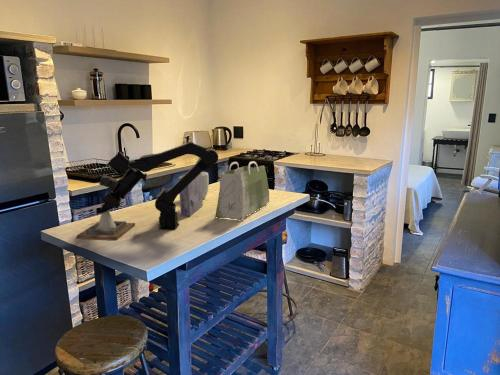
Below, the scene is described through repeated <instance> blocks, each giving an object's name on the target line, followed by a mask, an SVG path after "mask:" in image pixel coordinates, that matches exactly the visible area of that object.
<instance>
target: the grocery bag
mask: <svg viewBox="0 0 500 375" xmlns="http://www.w3.org/2000/svg"><path fill="white" fill-rule="evenodd" d="M252 164H254V165H255V167H253V166H251V165H252ZM233 165H237V168H236V169H231V168H232V166H233ZM267 176H268V175H267V172H266V168H265V165H259V166H258V163H257V161H254V160H252V161H249V163H248V165H245V166H241V167H240V166H239V162H237V161H233V162H231V163H230V165H229V168H228V170H226V171H224V172H220V173H219V190H218V198H217V204H216V210H215V215H214V219H218V218H230V219H237V220H242V219H244V218H245V217H246V216H247V215H249V214H251V213H253V212H254V213H256V212H257V211H256V210H258V209H260V208H262V207H264V206H265V205H266V204H267V203H268V202H269V203H270V188H269V184H268V182H269V181H268V177H267ZM267 205H268V204H267ZM267 205H266V206H267ZM266 206H265V207H266ZM265 207H264V208H265ZM262 209H263V208H262ZM260 210H261V209H260ZM255 211H256V212H255ZM258 211H259V210H258ZM254 213H253V214H254ZM251 215H252V214H251ZM249 216H250V215H249ZM216 217H217V218H216ZM247 217H248V216H247ZM247 217H246V218H247ZM246 218H245V219H246ZM245 219H244V220H245ZM242 221H243V220H242Z"/></svg>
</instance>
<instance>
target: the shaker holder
mask: <svg viewBox="0 0 500 375" xmlns="http://www.w3.org/2000/svg"><path fill="white" fill-rule="evenodd" d="M113 221H114V223H115V225H116V228H114V229H113V230H99V229H98V225H99V222H100V220H99V221H98V222H97V221H96V223H94V224H93V225H91V226H89V227H88V228H87V229H85V230H83V231H81V232H79V233H78V234H76V239H86V238H87V239H92V240H118V239H120V238H122V236H124V235H125V234H126V233H127V232H128V231H131V229H133V228H134V227H135V226H136V222H127V221H125V220H123V221H122V220H121V221H119V220H113Z"/></svg>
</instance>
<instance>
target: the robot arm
mask: <svg viewBox="0 0 500 375" xmlns="http://www.w3.org/2000/svg"><path fill="white" fill-rule="evenodd" d="M189 154H192V155H193V156H196V157H198V159H197V161H196V162H195V164H193V166H192V167H191V168H190V169H188V170H187V171H186V172H185V173H184V174H182V175H181V176H182V177H181V176H180V177H181V178H180V179H179V180H178V179H177V181H176V182H174V184H173V185H172V186H171V187H169V188H167V189H166V187H163V188H162V190H161V191H160V192H158V193H157V194H156V199H155V201H154V206H155V209H156V210H157V211H159V216H158V225H159V230H169V231H171V230H172V231H174V230H176V229H177V228H178V227H179V226H180V223H179V221H178V220H179V219H178V218H179V217H178V211H176V210H177V208H176V207H177V204H176V203H175V202H174V201H176V199H177V196H179V193H180V192H182V191H183V190H184V189H185V188H186V187H187V186H188V185H189V184H190V183H191V182H192V181H193V180H194V179H195V178H196V177H197V176H198V175H199V174H200V173H201V172H205V171H206V170H207V169H210V168H211V167H212V166H214V165H215V164H217V163H218V161H219V155H218V153H217V151H216V150H215V149H213V148H210V147H209V148H205V147H203V146H201V145H199V144H196V143H195V142H193V141H188V142H187V143H185V144H181V145H179V146H175V147H173V148H170V149H168V150H165V151H162V152H158V153H151V154H145V155H141V156H140V157H139V158H136V159H131V160H130V159H129V158H128V157H127V156H125V155H124V154H123V153H122V152H121V151H119V152H117V153H116V155H114V156H113V157H112V158H111V159H110V160H109V161H108V162H107V163H106V165H107V166H108V167H109V168H111V170H113V171H114V172H115V173H116V174H118V175H119V174H120V175H121V174H122V175H123V176H122V177H120V178H119V179H116V178H115V177H112V176H109V175H105V174H103V175H102V176H101V178H100V180H99V183H98V185H100V186H101V187H106V188H107V189H108V188H109V190H108V191H107V193H105V195H104V196H103V197H102V199H103V200H104V201H105V202H104V203H103V204H104V205H103V206H102V208H101V207H100V209H99V213H100V214H101V213H104V212H106V211H108V210H109V211H111V210H113V209H117V210H118V209H119V207H120V206H121V204H122V200H124V199H126V198H125V197H126V196H127V195H128V194H129V193H130V192H131V191H132V190H133V189H134V188H135V186H137V184H138V183H140V181H141V180H142V181H144V182H147V181H148V177H147V176H148V172H150V171H151V170H154V169H155V168H157V167H158V166H160V165H161V164H164V163H166V162H169V161H171V160H174V159H177V158H180V157H183V156H185V155H189ZM126 171H127V172H126ZM125 172H126V173H125ZM124 173H125V174H124Z"/></svg>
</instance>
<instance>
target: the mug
mask: <svg viewBox="0 0 500 375" xmlns="http://www.w3.org/2000/svg"><path fill="white" fill-rule="evenodd" d="M201 184H202V200H203V199H205V198H206V196H207V195H208V193H209V186H210V185H209V172H206V171H202V172H201Z"/></svg>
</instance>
